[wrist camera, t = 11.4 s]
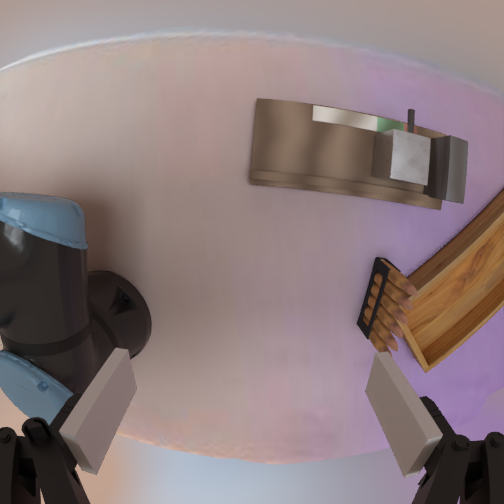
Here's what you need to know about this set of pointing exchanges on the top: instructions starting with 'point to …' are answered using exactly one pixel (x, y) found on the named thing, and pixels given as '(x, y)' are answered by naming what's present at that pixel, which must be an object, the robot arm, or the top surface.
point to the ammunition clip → (385, 305)
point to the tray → (457, 289)
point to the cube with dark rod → (402, 155)
